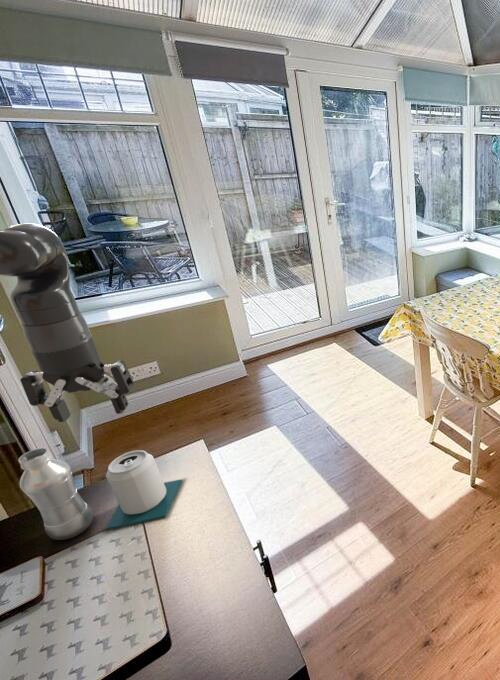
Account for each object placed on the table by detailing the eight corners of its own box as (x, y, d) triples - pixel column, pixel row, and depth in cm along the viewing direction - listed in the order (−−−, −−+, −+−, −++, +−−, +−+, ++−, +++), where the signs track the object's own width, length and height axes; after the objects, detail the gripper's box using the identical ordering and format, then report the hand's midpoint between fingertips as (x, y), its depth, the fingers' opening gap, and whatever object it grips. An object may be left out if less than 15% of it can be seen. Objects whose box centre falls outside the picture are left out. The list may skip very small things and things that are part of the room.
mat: (106, 530, 84) (105, 528, 83) (129, 491, 92) (128, 489, 92) (165, 517, 87) (164, 515, 87) (182, 481, 95) (181, 479, 95)
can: (164, 482, 94) (148, 441, 89) (170, 503, 89) (153, 461, 84) (121, 501, 89) (101, 459, 84) (124, 524, 84) (104, 480, 80)
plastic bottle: (60, 522, 85) (18, 447, 77) (103, 511, 87) (66, 438, 79) (43, 550, 80) (-4, 472, 72) (89, 538, 82) (47, 462, 74)
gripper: (122, 326, 77) (148, 397, 84) (22, 335, 73) (57, 409, 79) (101, 345, 71) (131, 420, 77) (-10, 356, 66) (31, 435, 73)
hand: (94, 415), depth 78 cm, fingers open, 8 cm apart
